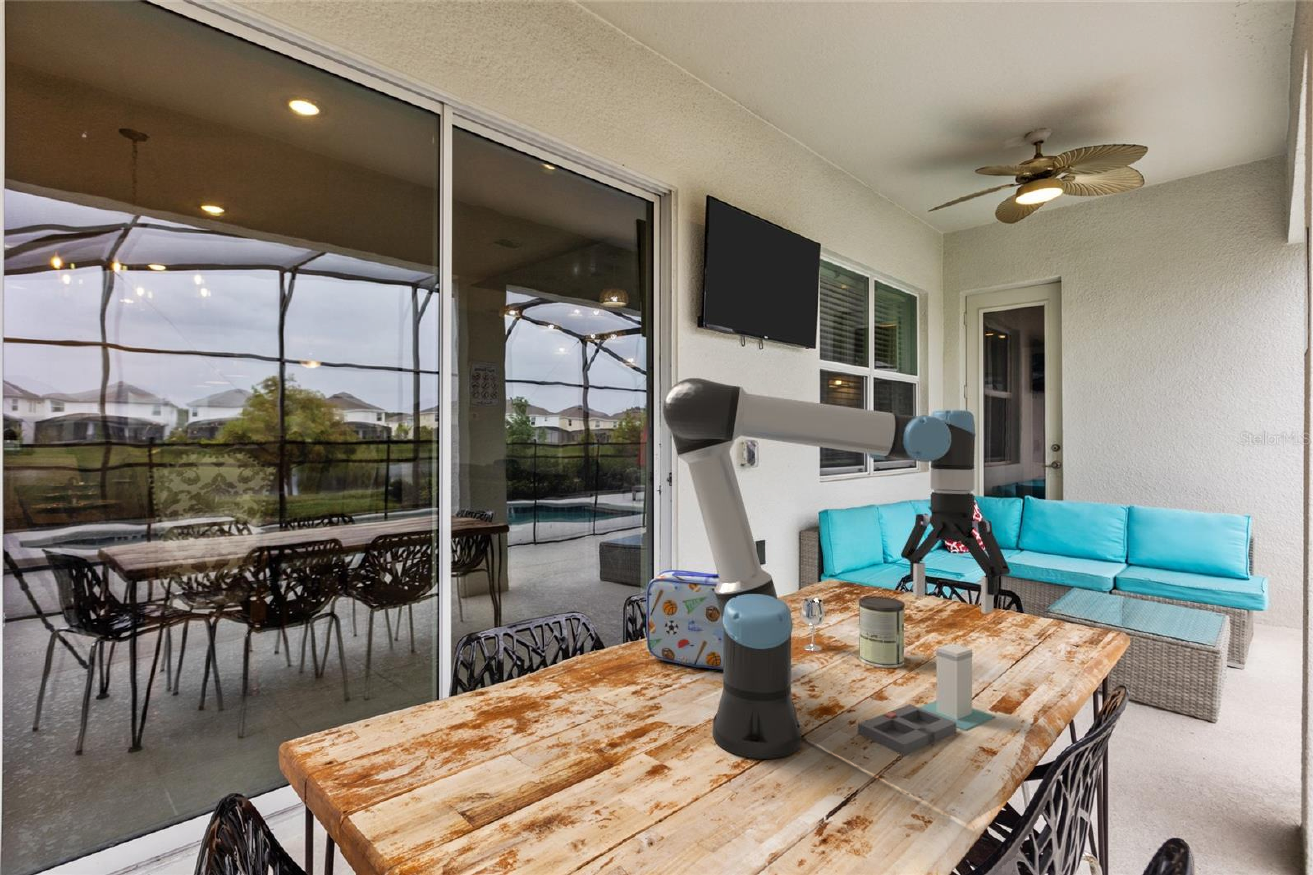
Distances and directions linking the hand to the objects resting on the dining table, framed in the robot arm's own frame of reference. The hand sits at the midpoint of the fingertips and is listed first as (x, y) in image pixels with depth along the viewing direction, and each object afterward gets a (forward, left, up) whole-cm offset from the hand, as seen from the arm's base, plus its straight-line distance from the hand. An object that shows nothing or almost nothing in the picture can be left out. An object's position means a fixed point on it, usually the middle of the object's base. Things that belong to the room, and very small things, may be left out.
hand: (951, 604), depth 116 cm
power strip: (-15, -1, -21) cm, 26 cm away
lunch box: (-22, +47, -21) cm, 56 cm away
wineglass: (+8, +41, -21) cm, 47 cm away
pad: (0, -1, -21) cm, 21 cm away
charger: (0, -1, -20) cm, 20 cm away
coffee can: (+15, +26, -21) cm, 37 cm away
